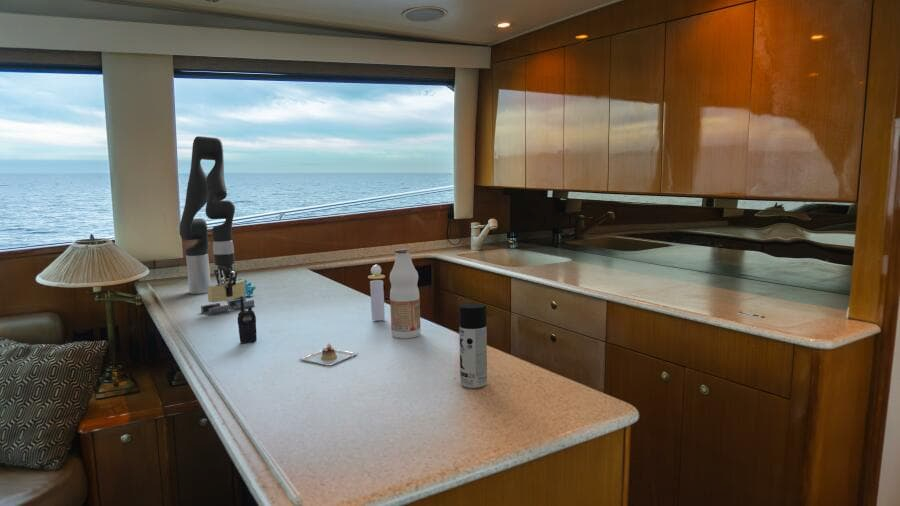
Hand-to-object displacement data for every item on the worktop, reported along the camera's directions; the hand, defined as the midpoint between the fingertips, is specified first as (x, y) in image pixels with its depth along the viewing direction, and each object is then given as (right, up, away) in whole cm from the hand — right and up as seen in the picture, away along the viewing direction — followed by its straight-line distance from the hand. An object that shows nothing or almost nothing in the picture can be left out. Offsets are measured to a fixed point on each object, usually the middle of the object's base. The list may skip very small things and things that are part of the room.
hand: (227, 295), depth 235 cm
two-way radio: (+23, -12, -44) cm, 51 cm away
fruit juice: (+73, -10, -42) cm, 85 cm away
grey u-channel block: (0, -5, +1) cm, 6 cm away
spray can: (+93, -16, -87) cm, 128 cm away
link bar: (0, -1, 0) cm, 1 cm away
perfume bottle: (+62, -7, -23) cm, 66 cm away
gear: (-2, -3, +24) cm, 24 cm away
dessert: (+53, -14, -63) cm, 83 cm away
